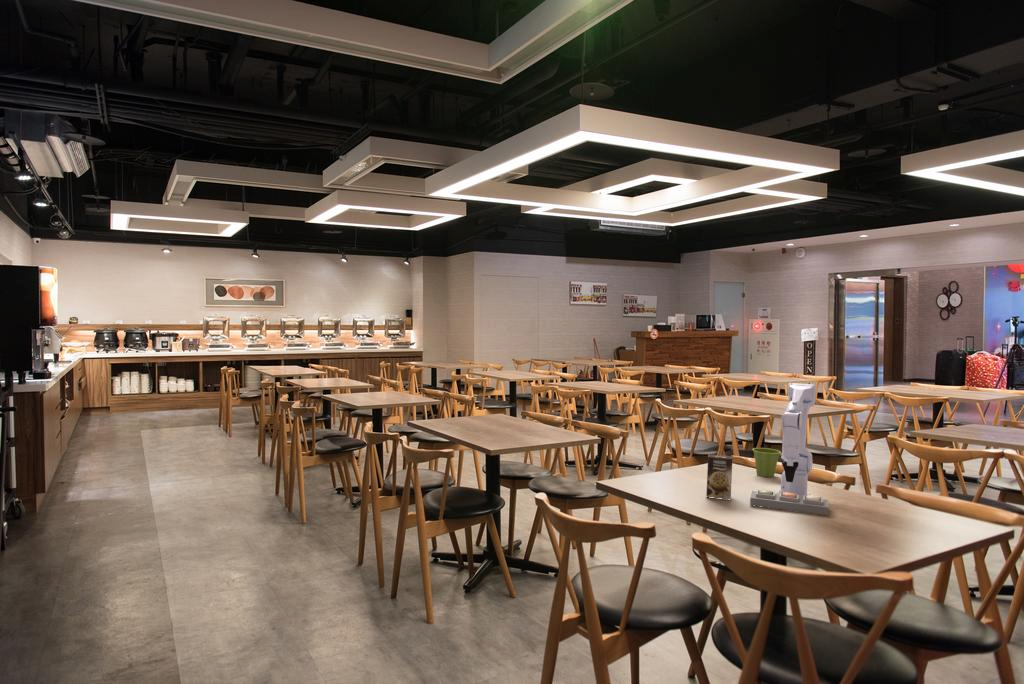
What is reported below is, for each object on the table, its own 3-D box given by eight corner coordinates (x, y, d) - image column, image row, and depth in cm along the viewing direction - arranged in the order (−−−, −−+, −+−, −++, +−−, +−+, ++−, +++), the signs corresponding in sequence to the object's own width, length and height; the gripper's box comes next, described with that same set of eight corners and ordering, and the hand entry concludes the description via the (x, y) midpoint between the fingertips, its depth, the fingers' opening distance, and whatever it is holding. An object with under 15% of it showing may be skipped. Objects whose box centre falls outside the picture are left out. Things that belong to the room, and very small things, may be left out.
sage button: (758, 495, 237) (759, 491, 237) (759, 493, 241) (759, 489, 241) (771, 497, 235) (771, 493, 235) (772, 494, 239) (772, 490, 239)
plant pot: (777, 480, 274) (778, 454, 274) (749, 476, 281) (749, 450, 280) (782, 474, 285) (783, 449, 284) (754, 471, 291) (755, 446, 290)
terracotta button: (782, 498, 233) (782, 494, 233) (782, 495, 237) (782, 491, 237) (795, 500, 232) (795, 496, 231) (795, 497, 236) (795, 493, 235)
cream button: (806, 501, 230) (806, 497, 230) (806, 498, 234) (806, 494, 234) (819, 503, 228) (819, 499, 228) (819, 500, 232) (819, 496, 232)
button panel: (750, 505, 235) (750, 494, 235) (751, 498, 245) (752, 487, 245) (828, 515, 224) (829, 504, 224) (827, 507, 234) (827, 496, 234)
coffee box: (706, 498, 244) (707, 456, 243) (706, 494, 250) (707, 453, 249) (731, 501, 241) (732, 458, 240) (731, 496, 247) (732, 455, 246)
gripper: (802, 449, 225) (801, 487, 226) (802, 442, 239) (801, 478, 239) (781, 447, 228) (780, 485, 229) (782, 440, 242) (780, 476, 242)
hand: (789, 481), depth 234 cm, fingers closed
